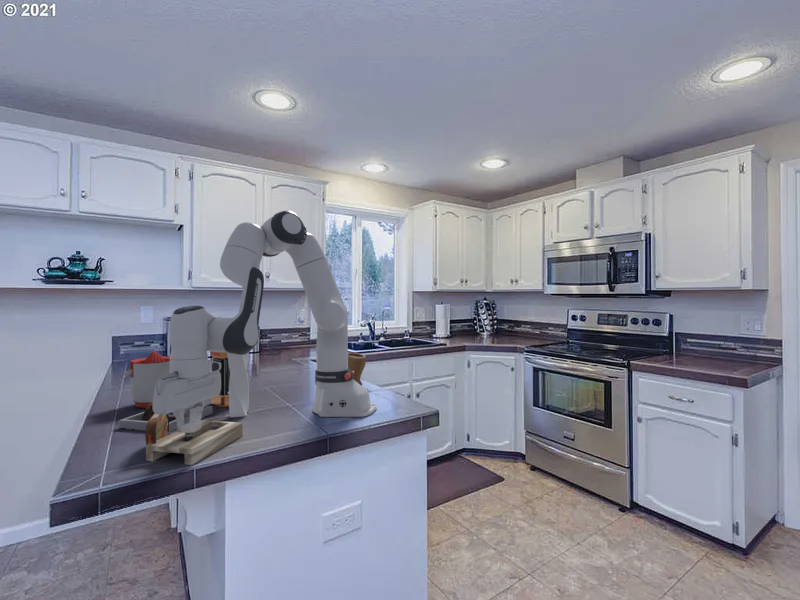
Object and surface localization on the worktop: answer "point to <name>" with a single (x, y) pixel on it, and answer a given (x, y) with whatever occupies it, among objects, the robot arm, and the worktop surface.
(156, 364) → the citrus juicer
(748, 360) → the worktop surface
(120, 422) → the grey flat square frame
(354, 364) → the tan flared vase
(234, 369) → the skyscraper
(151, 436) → the tin
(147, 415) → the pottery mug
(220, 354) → the whiskey bottle
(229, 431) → the keyhole plate
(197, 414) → the peg
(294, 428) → the worktop surface
